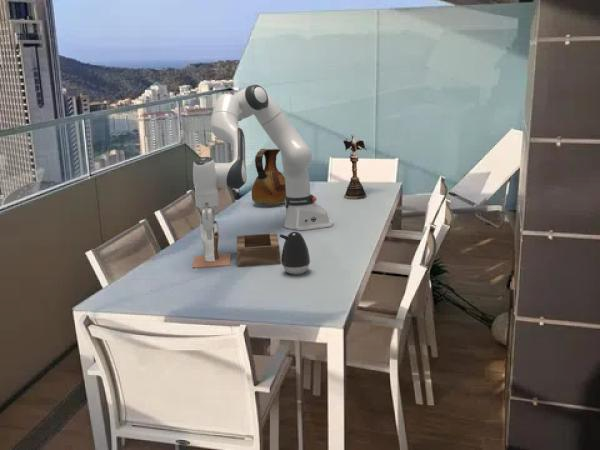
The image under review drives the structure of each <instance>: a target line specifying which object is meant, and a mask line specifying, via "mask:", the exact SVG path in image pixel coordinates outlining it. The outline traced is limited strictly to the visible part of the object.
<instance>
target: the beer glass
mask: <svg viewBox="0 0 600 450" xmlns="http://www.w3.org/2000/svg"><path fill="white" fill-rule="evenodd" d="M199 223H200V224H199V226H200V227H199V228H200V229H199V231H200V239H201V244H202V247H203V250H204V251H203V252H204V254H203V255H204V261H205V262H216V261H219V260H220V257H219V254H220V253H219V242H220V241H219V239H220V234H219V233H220V232H219V231H220V230H219V225H218V221H217V220H214V226H213V230H212V240H208V239H207V234H206V231H204V230H203V223H202V221H200V222H199Z"/></svg>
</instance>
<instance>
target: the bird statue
mask: <svg viewBox="0 0 600 450" xmlns="http://www.w3.org/2000/svg"><path fill="white" fill-rule="evenodd" d="M350 135H351V140H348V137H347V136H346V137H345V139H344V140H343V141H342V142H343V144H344V147H345V152H346V151H347V150H349V149H350V151H351V152H350V155H349V159H350V160H349V161H350V162H351V164H352V166H351V168H352V169H351V171H352V177H350V181H349V184H348V185H347V187H346V191H345V194H344V195H343V199H346V200H363V199H366V197H367V194H366V191H365V189H364V186H363V185H362V182H361V181H360V177H358V167H357V163H358V161H359V158H360V156H359V155H358V152H357V151H358V150H360V151H362V150H366V151H368V150H367V147H366V146H365V143H364V140H363V139H359V140H356V138H355V137H356V136H355V134H353V133H352V134H350Z"/></svg>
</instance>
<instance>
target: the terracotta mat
mask: <svg viewBox="0 0 600 450" xmlns="http://www.w3.org/2000/svg"><path fill="white" fill-rule="evenodd" d="M219 257H220V260H219V261H216V262H205V261H204V254H203V255H195V256H194V259H193V262H192V263H193V264H192V269H203V268H217V267H230V266H231V253H219Z"/></svg>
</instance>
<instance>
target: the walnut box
mask: <svg viewBox="0 0 600 450" xmlns="http://www.w3.org/2000/svg"><path fill="white" fill-rule="evenodd" d="M280 253H281V251H280V243H279V236H278V233H277V232H271V233H270V232H269V233H260V234H259V233H257V234H244V235H243V234H242V235H236V258H237V259H236V260H237V268H239V267H253V266H255V267H256V266H268V265H281V254H280Z"/></svg>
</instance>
